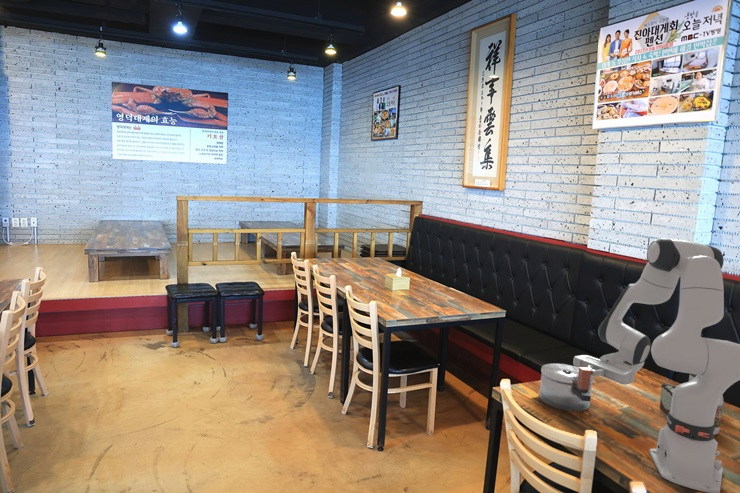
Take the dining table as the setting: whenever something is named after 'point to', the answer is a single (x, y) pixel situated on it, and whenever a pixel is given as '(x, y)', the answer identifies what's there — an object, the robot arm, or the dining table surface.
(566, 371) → the lid
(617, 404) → the dining table surface
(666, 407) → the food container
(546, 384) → the cooker pot
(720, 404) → the milk bottle
